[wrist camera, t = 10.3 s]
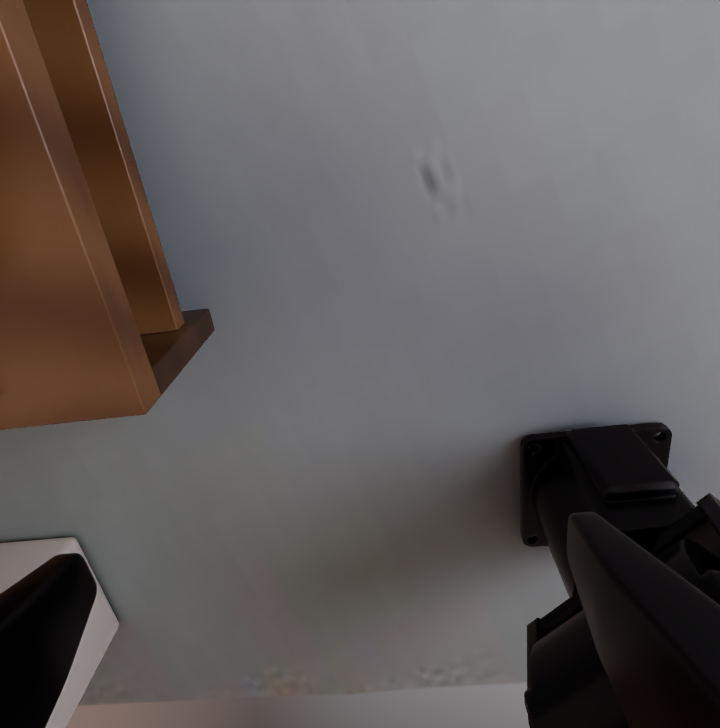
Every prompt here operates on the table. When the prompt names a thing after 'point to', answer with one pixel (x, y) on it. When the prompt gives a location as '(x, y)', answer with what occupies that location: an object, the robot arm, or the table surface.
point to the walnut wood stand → (76, 235)
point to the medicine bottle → (18, 559)
